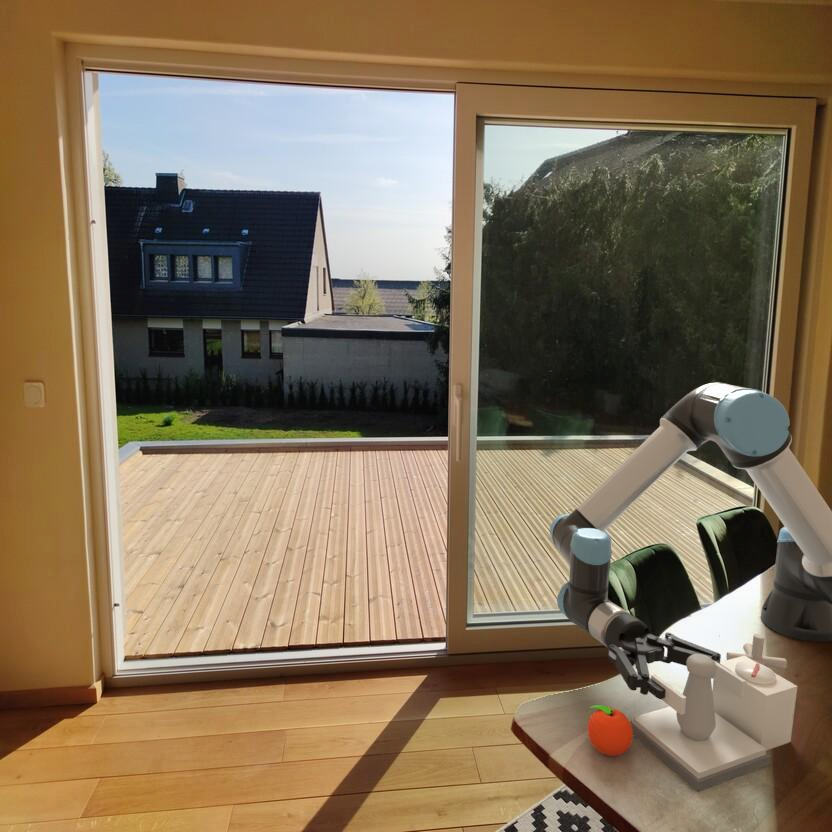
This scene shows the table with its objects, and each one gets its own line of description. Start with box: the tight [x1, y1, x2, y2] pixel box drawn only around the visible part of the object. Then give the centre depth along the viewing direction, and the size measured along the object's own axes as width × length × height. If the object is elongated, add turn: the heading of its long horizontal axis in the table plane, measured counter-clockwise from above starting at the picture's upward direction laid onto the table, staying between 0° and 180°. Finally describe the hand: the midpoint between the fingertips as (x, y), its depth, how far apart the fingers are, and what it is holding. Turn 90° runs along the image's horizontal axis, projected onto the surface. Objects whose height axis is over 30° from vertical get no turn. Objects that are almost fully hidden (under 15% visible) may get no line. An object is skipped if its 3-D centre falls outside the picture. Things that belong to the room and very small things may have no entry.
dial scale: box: [629, 656, 798, 792], centre depth 104 cm, size 23×15×11 cm, turn 113°
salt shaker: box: [676, 654, 716, 741], centre depth 102 cm, size 6×6×13 cm
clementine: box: [585, 704, 634, 757], centre depth 102 cm, size 8×7×7 cm
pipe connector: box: [725, 633, 788, 670], centre depth 120 cm, size 10×10×10 cm
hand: (714, 697), depth 98 cm, fingers open, 12 cm apart
